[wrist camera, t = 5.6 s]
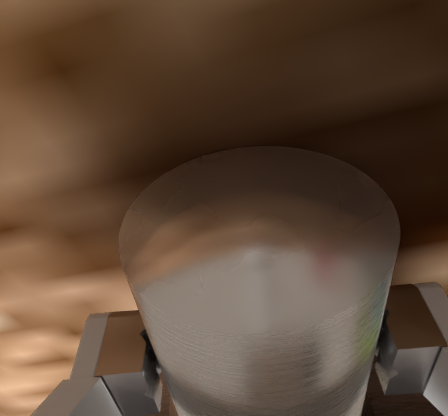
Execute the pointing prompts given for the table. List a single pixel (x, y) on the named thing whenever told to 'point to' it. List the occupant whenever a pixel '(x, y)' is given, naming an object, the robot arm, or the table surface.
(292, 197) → the tube
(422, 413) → the collars
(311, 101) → the table surface
